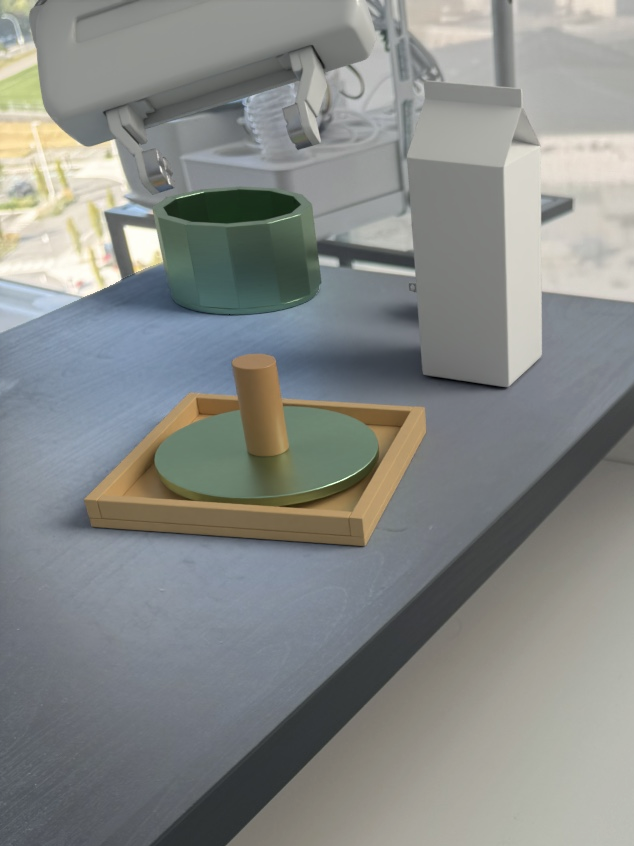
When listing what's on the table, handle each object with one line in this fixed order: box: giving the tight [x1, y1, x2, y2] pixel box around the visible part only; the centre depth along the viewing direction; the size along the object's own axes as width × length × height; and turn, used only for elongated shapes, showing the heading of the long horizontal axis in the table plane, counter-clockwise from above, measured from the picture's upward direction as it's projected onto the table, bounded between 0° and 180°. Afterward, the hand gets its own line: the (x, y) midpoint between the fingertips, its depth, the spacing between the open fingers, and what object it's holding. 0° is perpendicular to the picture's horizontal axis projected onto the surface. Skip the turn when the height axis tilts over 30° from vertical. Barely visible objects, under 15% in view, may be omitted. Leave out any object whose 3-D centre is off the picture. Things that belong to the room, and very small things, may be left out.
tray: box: [83, 392, 427, 547], centre depth 74 cm, size 17×17×2 cm
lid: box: [154, 353, 379, 507], centre depth 72 cm, size 14×14×7 cm
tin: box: [151, 185, 322, 316], centre depth 101 cm, size 13×13×7 cm
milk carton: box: [406, 79, 543, 388], centre depth 84 cm, size 7×7×19 cm
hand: (231, 164), depth 70 cm, fingers open, 8 cm apart
